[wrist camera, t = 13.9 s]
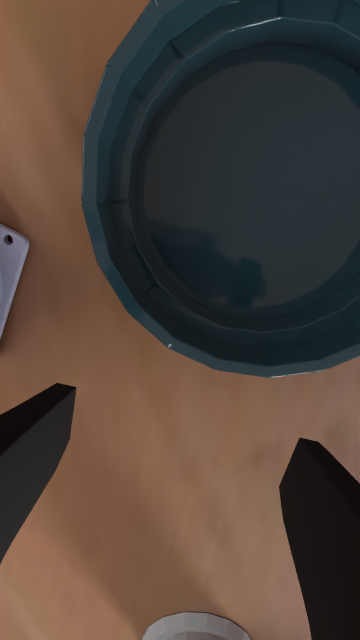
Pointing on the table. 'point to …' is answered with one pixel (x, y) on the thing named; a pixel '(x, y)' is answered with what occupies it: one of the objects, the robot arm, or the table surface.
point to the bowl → (233, 181)
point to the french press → (194, 628)
